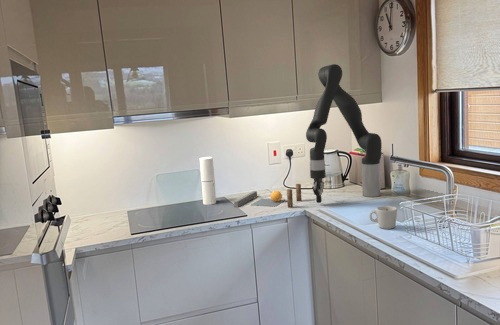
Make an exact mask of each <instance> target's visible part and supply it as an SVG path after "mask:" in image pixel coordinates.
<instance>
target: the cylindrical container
mask: <svg viewBox="0 0 500 325" xmlns="http://www.w3.org/2000/svg"><path fill="white" fill-rule="evenodd" d="M199 168H200V169H199V170H200V180H201V191H202V192H201V194H202V204H203V205H207V206H208V205H214V204H216V203H217V196H216V194H217V193H216V184H215V182H216V181H215V172H214V171H215V169H214V158H213V157H212V156H204V157H199Z"/></svg>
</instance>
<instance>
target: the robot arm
mask: <svg viewBox="0 0 500 325" xmlns="http://www.w3.org/2000/svg"><path fill="white" fill-rule="evenodd" d="M317 74H318V80H319V82H320V83H321V85H322V86H323V87H324V91H323V92H322V95H321V96H320V97H319V100H318V101H317V103H316V106H315V108H314V112H313V117H312V119H311V121H310V124H309V125H308V127H307V129H306V132H305V137H306V141H308V142H309V143H314V147H311V148H310V150H309V174H310V175H309V176H310V177H309V178H310V179H312V180H313V182H312V183H313V186H311V188H312V192H313V195H314V196H315V197H316V200H315V201H316V203H318V204H319V203H320V204H321V203H322V202H323V200H322V195H323V193H324V188H325V182H324V181H323V179H325V178H326V176H327V175H326V161H325V149H326V144H327V139H328V138H327V137H328V136H327V134H328V133H327V132H326V131H325V129H323V128H321V127H322V126H324V125H327V122H328V119H329V113H330V110H331V106H332V104H333V102H334V104H335V105H336V107H337V108H338V110H339V111H340V113H341V115H342V117H343V118H344V120H345V121H346V123H347V125H348V126H349V128H350V129H351V131H352V133H353V136H354V138H355V140H356V142H357V144H358V146H359V148H360V149H362V150H364V151H365V156H364V157H362V158H361V180H362V181H361V184H362V186H361V187H362V189H361V191H362V196H363V197H368V198H369V197H371V198H375V197H379V196H381V163H380V162H381V158H382V138H381V136H380V135H379V134H377V133H373V132H369V131H368V129H367V128H366V127H365V124H364V123H363V122H364V121H363V115H362V110H361V108H360V106H359V104H358V103H357V100H355V98H354V97H353V96H352V95H351V94H350V93H348V92H347V91H346V90H345V89H343V88H342V86H341V85H340V84H341V81H342V77H343V69H342V67H341V66H340V65H339V64H335V63H334V64H329V65H324V66H322V67H321V68H320V69H318V73H317Z"/></svg>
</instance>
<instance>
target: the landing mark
mask: <svg viewBox="0 0 500 325" xmlns="http://www.w3.org/2000/svg"><path fill="white" fill-rule="evenodd" d="M284 201H286V199H281V200H280V201H279V202H274V201H272V199H271V198H259V199H258V200H257V201H255V202H253V203H251V204H250V206H257V207H259V206H260V207H261V206H262V207H273V206H274V207H275V206H276V207H277V206H278V205H280V204H283V202H284Z"/></svg>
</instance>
